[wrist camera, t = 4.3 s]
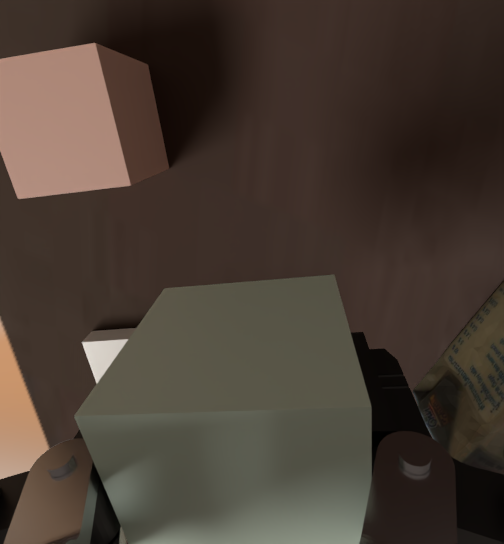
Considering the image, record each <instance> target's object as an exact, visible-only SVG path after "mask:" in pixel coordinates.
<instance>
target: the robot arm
mask: <svg viewBox="0 0 504 544" xmlns="http://www.w3.org/2000/svg"><path fill="white" fill-rule="evenodd" d="M351 336H352V339H353V343H354V347H355V350H356V354H357V357H358V361H359V364H360V368H361V371H362V375H363V378H364V382H365V386H366V389H367V393H368V396H369V400H370V403H371V407H372V480H371V485H370V491H369V496H368V502H367V507H366V512H365V518H364V523H363V529H362V534H361V539H360V542H359V544H504V474H500V473H496V472H492V471H488V470H484V469H480V468H476V467H473V466H470V465H467V464H465V463H462V462H460V461H458V460H456V459H454V458H453V457H451V456H450V454H449V453H448V452H447V450H446V449H445V448H444V447H443V446H442V445H441V444H439V443H438V442H437V441H435V440H434V439H432V437H431V435H430V433H429V431H428V429H427V427H426V424H425V422H424V420H423V417H422V415H421V413H420V411H419V408H418V406H417V404H416V401H415V399H414V397H413V395H412V392H411V390H410V388H409V387H408V383H407V381H406V379H405V376H403V372H402V370H401V367H400V365H399V363H398V360H397V359H396V358H395V357H393V356H392V355H391V354H390V353H389V352H388V351H387V350H385V349H369V347H368V344H367V342H366V339H365V336H364V333H363V332H355V333H351ZM0 544H126V537H125V534H124V532H123V530H122V527H121V525H120V523H119V520H118V518H117V516H116V513H115V511H114V509H113V506H112V504H111V502H110V499H109V497H108V495H107V492H106V490H105V488H104V485H103V483H102V481H101V478H100V476H99V474H98V471H97V469H96V467H95V464H94V462H93V460H92V457H91V455H90V453H89V450H88V448H87V445H86V443H85V441H84V438H83V436H82V434H81V431H80V430H79V431H78V433H77V434H76V436H75V438H74V439H70V440H67V441H64V442H61V443H59V444H57V445H55V446H54V447H52V448H50V449H49V450H47V451H46V452H45V453H44V454H43V455H42V456H40V458H38V459H37V461H36V462H35V463H34V465H33V466H32V468H31V469H30V471H27V472H24V473H20V474H17V475H14V476H11V477H7V478H4V479H1V480H0Z"/></svg>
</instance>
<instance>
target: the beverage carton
mask: <svg viewBox="0 0 504 544" xmlns="http://www.w3.org/2000/svg"><path fill="white" fill-rule="evenodd" d="M413 393H414V395H415V398H416V401H417V403H418V408H419V411H420V413H421V415H422V417H423V419H424V422H425V424H426V427H427V428H428V430H429V431H430V433H431V435H432V437H433V439H434V440H435V441H437V442H438V443H439V444H441V445H442V446H443V447H444V448H445V449H446V450H447V452H448V453H449V454H450V456H451V457H453V458H454V459H456V460H458V461H460V462H462V463H465V464H467V465H470V466H473V467H476V468H480V469H484V470H488V471H492V472H496V473H500V474H504V281H503V282H502V284H501V285H500V286H499V287H498V288H497V290H496V291H495V292H494V293H493V294H492V295H491V297H490V298H489V299H488V300H487V301H486V302H485V304H484V305H483V306H482V307H481V308H480V309H479V311H478V312H477V313H476V314H475V315H474V316H473V318H472V319H471V320H470V321H469V322H468V323H467V325H466V326H465V327H464V329H463V330H462V331H461V332H460V333H459V335H458V336H457V337H456V338H455V339H454V340H453V341H452V342H451V344H450V345H449V347H448V348H447V349H446V350H445V352H444V353H443V354H442V356H441V357H440V358H439V360H438V361H437V362H436V364H435V365H434V366H433V367H432V368H431V369H430V371H429V372H428V373H427V374H426V376H425V377H424V378H423V379H422V381H421V382H420V383H419V384H418V385H417V386H416V387H415V389H414V390H413Z"/></svg>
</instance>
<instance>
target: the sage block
mask: <svg viewBox="0 0 504 544" xmlns="http://www.w3.org/2000/svg"><path fill="white" fill-rule="evenodd" d="M74 417H75V420H76V422H77V424H78V427H79V429H80V431H81V434H82V436H83V438H84V441H85V443H86V445H87V448H88V450H89V453H90V455H91V457H92V460H93V462H94V464H95V467H96V469H97V471H98V474H99V476H100V478H101V481H102V483H103V485H104V488H105V490H106V492H107V495H108V497H109V499H110V502H111V504H112V506H113V509H114V511H115V513H116V516H117V518H118V520H119V523H120V525H121V527H122V530H123V532H124V534H125V537H126V539H127V541H128V544H359V542H360V539H361V534H362V529H363V523H364V518H365V512H366V507H367V502H368V496H369V491H370V485H371V480H372V407H371V403H370V400H369V396H368V393H367V389H366V386H365V382H364V378H363V375H362V371H361V368H360V364H359V361H358V357H357V354H356V350H355V347H354V343H353V339H352V336H351V332H350V329H349V325H348V322H347V318H346V315H345V311H344V308H343V304H342V300H341V297H340V293H339V290H338V286H337V283H336V279H335V276H334V275H324V276H312V277H300V278H287V279H275V280H263V281H251V282H238V283H226V284H214V285H201V286H189V287H177V288H165V289H164V290H163V291H162V293H161V294H160V295H159V297H158V298H157V300H156V301H155V302H154V304H153V305H152V307H151V308H150V310H149V311H148V312H147V314H146V315H145V317H144V318H143V319H142V321H141V322H140V324H139V325H138V327H137V328H136V329H135V331H134V332H133V334H132V335H131V336H130V338H129V339H128V341H127V342H126V343H125V345H124V346H123V348H122V349H121V351H120V352H119V353H118V355H117V356H116V358H115V359H114V360H113V362H112V363H111V365H110V366H109V368H108V369H107V370H106V372H105V373H104V375H103V376H102V377H101V379H100V380H99V382H98V383H97V384H96V386H95V387H94V389H93V390H92V392H91V393H90V394H89V396H88V397H87V399H86V400H85V401H84V403H83V404H82V406H81V407H80V408H79V410H78V411H77V413H76V414H75V416H74Z"/></svg>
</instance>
